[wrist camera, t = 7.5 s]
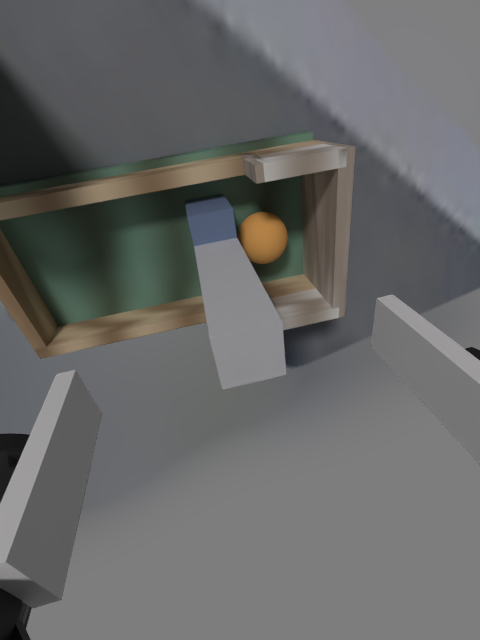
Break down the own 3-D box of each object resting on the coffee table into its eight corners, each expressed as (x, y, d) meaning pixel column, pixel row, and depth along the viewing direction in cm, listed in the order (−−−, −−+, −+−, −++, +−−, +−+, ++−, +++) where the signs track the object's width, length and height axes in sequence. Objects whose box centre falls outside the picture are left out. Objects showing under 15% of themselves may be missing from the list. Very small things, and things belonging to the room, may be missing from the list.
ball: (279, 248, 28) (236, 258, 27) (276, 202, 25) (228, 212, 25) (296, 265, 24) (247, 276, 24) (294, 214, 22) (240, 225, 22)
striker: (203, 281, 28) (229, 417, 15) (184, 201, 24) (198, 294, 11) (236, 275, 28) (288, 403, 15) (223, 193, 24) (278, 277, 11)
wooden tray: (59, 332, 30) (27, 393, 23) (-25, 190, 22) (-108, 221, 16) (308, 279, 31) (344, 321, 25) (305, 131, 24) (355, 136, 18)
